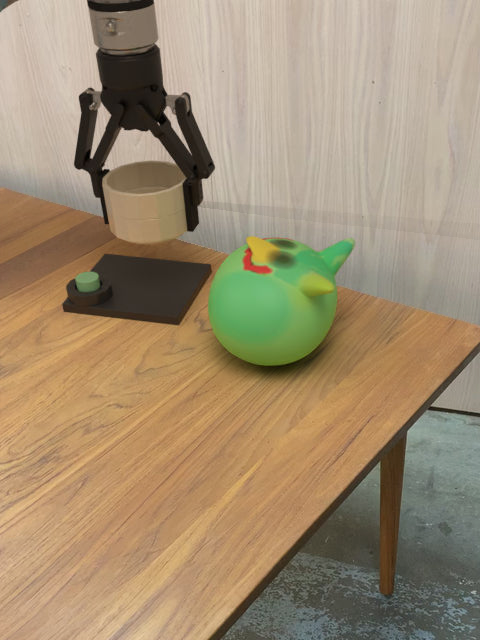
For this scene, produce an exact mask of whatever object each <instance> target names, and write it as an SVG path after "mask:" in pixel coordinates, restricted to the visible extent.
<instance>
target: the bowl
mask: <svg viewBox="0 0 480 640" xmlns="http://www.w3.org/2000/svg"><path fill="white" fill-rule="evenodd" d="M185 180H186V177H185V175H184V174H183V172H182V171H181V170H180V168H179V167H178V166H177V164H176V163H175V162H170V161H164V160H163V161H162V160H144V161H143V160H142V161H134V162H130V163H127V164H122V165H120V166H117V167H115V168H113V169H110V171H109V172H108V173H107V174H106V175H105V176H104V177H103V178H102V186H103V192H104V197H105V203H106V208H107V214H108V220H109V224H108V226H109V231H110V232H111V234H113V235H114V236H115V237H116V238H118V239H120V240H123V241H125V242H127V243H131V244H135V245H159V244H163V243H167V242H168V243H169V242H170V241H173V240H175V239H178V238H179V237H181V236H183V235H185V233H188V231H187V221H186V212H185V203H184V193H183V184H182V183H183V182H184V181H185Z"/></svg>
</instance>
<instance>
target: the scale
mask: <svg viewBox="0 0 480 640" xmlns="http://www.w3.org/2000/svg"><path fill="white" fill-rule="evenodd" d="M89 272H95V273H97V274H98V275H99V280H100V288H99V289H97V290H95V291H90V292H81V291H79V290H78V289H77V285H76V280H75V278H76V277H75V278H72V279H71V280H69V281H68V283H67V284H66V285H65V289H66V293H67V297H66V298H65V300H64V301H63V302H62V304H61V306H62V310H63V312H64V313H70V314H77V315H84V316H85V315H86V316H94V317H104V318H111V319H112V318H113V319H120V320H127V321H128V320H130V321H136V322H145V323H154V324H163V325H170V326H180V325H181V323H182V321H183V320H184V318H185V317H186V315H187V314H188V311H189V310H190V309H191V307H192V306H193V304H194V302H195V300H196V299H197V297H198V296H199V294H200V293H201V291H202V290H203V288H204V286H205V284H206V283H207V281H208V279H209V278H210V276H211V275H212V273H213V270H212V264H211V263H204V262H202V263H201V262H195V261H194V262H193V261H182V260H174V259H173V260H172V259H165V258H163V259H162V258H154V257H143V256H135V255H134V256H133V255H122V254H113V253H103V255H102V256H101V258H99V260H97V262H96V263H95V264H94V266H92V268H91V269H90V271H89Z"/></svg>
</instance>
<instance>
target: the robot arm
mask: <svg viewBox="0 0 480 640" xmlns="http://www.w3.org/2000/svg"><path fill="white" fill-rule="evenodd" d="M16 2H19V0H0V13H1V12H3V11H4V10H5V9H7V8H8V7H9V6H12V5H13V4H14V3H16ZM86 3H87V7H88V15H89V20H90V26H91V27H90V28H91V32H92V39H93V43H94V45H95V46H96V47H97V48H98V49H97V51H96V52H95V58H96V64H97V70H98V71H97V72H98V77H99V81H100V84H101V90H100V91H99V90H95V89H94V88H93V87H88V88H86V89H85V90H83V91H82V92H81V93H80V94H79V95H78V103H79V109H80V119H79V125H78V132H77V138H76V139H77V140H76V146H75V154H74V159H73V166H74V168H75V169H76V170H78V171H81V170H83V171H85V172H87V173H88V174H89V177H90V182H91V187H92V193H93V195H94V197H95V198H96V199H99V200H100V204H101V211H102V217H103V222H104V225H109V220H108V214H107V208H106V203H105V197H104V192H103V186H102V178H103V177H104V176H105V175H106V174H107V173H108V172H109V171H111V169H109V168H104V167H105V166H106V162H107V159H108V158H109V155H110V153H111V151H112V149H113V147H114V145H115V142H116V141H117V139H118V137H119V135H120V133H121V130H122V129H123V131H133V130H137V131H139V132H147V133H148V132H150V133H151V134H152V136H153V137H154V138H155V139H158V141H159V142H160V143H161V145H162V146H163V147H164V149H165V150H166V152H167V153H168V154H169V156H170V157H171V159H172V160H173V161H174V164H177V166H178V167H179V168H180V170H181V171H182V172H183V174H184V175H185V177H186V180H185V181H184V182H183V183H182V184H183V193H184V203H185V212H186V221H187V233H188V232H190V233H194V231H195V230H196V229H197V227H198V226H199V224H200V218H199V217H200V216H199V208H198V207H200V206H201V204H202V202H203V200H204V190H203V180H208V179H209V178H210V177H211V176H212V174H213V173H214V171H215V170H216V166H215V163H214V159H213V158H212V156H211V153H210V150H209V149H208V146H207V144H206V141H205V139H204V137H203V135H202V132H201V130H200V127H199V124H198V122H197V121H196V117H195V116H194V113H193V108H192V107H193V106H192V100H191V99H192V98H191V97H192V96H191V95H190V93H189V92H187V91H184V92H182V93H181V94H168V92H167V91H166V89H165V87H164V72H163V65H162V57H161V55H162V54H161V48H160V47H159V46H158V45H157V44H156V43H157V42H158V41H159V39H160V36H159V28H158V22H157V13H156V6H155V5H156V4H155V0H86ZM101 105H102V106H103V107H104V109H106V111H107V112H108V113H109V114H110V117H109V119H108V122H107V123H106V126H105V128H104V129H105V130H104V132H103V134H102V137H101V138H100V141H99V143H98V145H97V148H96V150H95V151H94V154H93V156H92V151H93V145H94V137H95V132H96V126H97V118H98V113H99V109H100V107H101ZM167 107H168V108H170V110H171V113H172V114H173V115H174V116H175V118H176V122H177V124H178V127H179V130H180V132H181V133H182V137H183V138H184V140H185V143H186V145H187V146H186V145H185V143H184V142H183V140H182V138H180V136H179V135H178V134H177V132H176V131H175V130H174V128H173V126H172V122H171V120H170V119H169V118H168V116H167V115H166V113H165V110H166V108H167ZM187 147H188V148H187ZM103 168H104V169H103Z"/></svg>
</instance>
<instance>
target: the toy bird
mask: <svg viewBox="0 0 480 640" xmlns="http://www.w3.org/2000/svg"><path fill="white" fill-rule="evenodd" d="M245 241H246V243H245V244H242V245H240V246H239V247H238V248H236V249H235V250H233V251H232V252H231V253H230V254H229V255H228V256H227V257H225V258H224V260H223V261H222V263H221V264H220V265H219V267H218V269H217V271H216V273H215V274H214V277H213V279H212V282H211V285H210V288H209V293H208V299H207V315H208V320H209V324H210V326H211V331H213V334H214V336H215V337H216V339H217V340H218V342H219V344H220V345H222V347H223V348H225V350H226V351H228V352H229V353H230V354H231V355H233V356H234V357H237V358H239V360H242V361H245V362H247V363H250V364H253V365H258V366H265V367H266V366H267V367H269V366H270V367H272V366H273V367H275V366H284V365H287V364H288V365H289V364H292V363H295V362H297V361H300V360H302V359H304V358H305V357H307V356H308V355H309V354H311V353H312V352H313V351H314V350H315V349H316V348H318V347H319V346H320V344H322V343H323V341H324V340H325V338H326V337H327V335H328V333H329V331H330V329H331V328H332V325H333V322H334V320H335V316H336V313H337V308H338V307H337V306H338V287H337V282H336V276H337V274H338V272H339V271H340V269H341V268H342V266H343V265H344V264H345V262H346V261H347V260H348V258H349V256H350V255H351V254H352V252H353V250H354V248H355V246H356V240H355V239H354V238H353V237H348V238H343V239H342V240H340V241H338V242H336V243H334V244H332V245H329V246H328V247H326V248H323V249H322V250H319V251H316V250H315V249H314V248H312V247H311V246H309V245H307V244H305V243H303V242H301V241H298V240H295V239H292V238H287V237H286V238H285V237H264V238H260V237H257V236H255V235H249V236H247V237H246V239H245Z"/></svg>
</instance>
